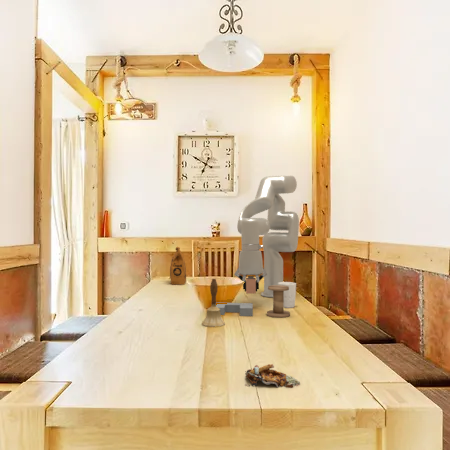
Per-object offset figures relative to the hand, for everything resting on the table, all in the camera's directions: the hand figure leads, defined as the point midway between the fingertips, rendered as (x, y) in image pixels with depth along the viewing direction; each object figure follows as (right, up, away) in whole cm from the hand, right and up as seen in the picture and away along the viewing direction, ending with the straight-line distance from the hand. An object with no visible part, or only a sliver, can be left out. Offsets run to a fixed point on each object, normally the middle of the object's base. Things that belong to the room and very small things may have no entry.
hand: (250, 290), depth 164 cm
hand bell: (-15, -7, -28) cm, 33 cm away
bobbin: (+10, -7, -14) cm, 18 cm away
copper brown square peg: (0, -1, 0) cm, 1 cm away
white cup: (+16, -8, +3) cm, 18 cm away
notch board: (-8, -7, -11) cm, 15 cm away
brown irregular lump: (-1, -7, -78) cm, 79 cm away
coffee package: (-40, -8, +68) cm, 79 cm away
